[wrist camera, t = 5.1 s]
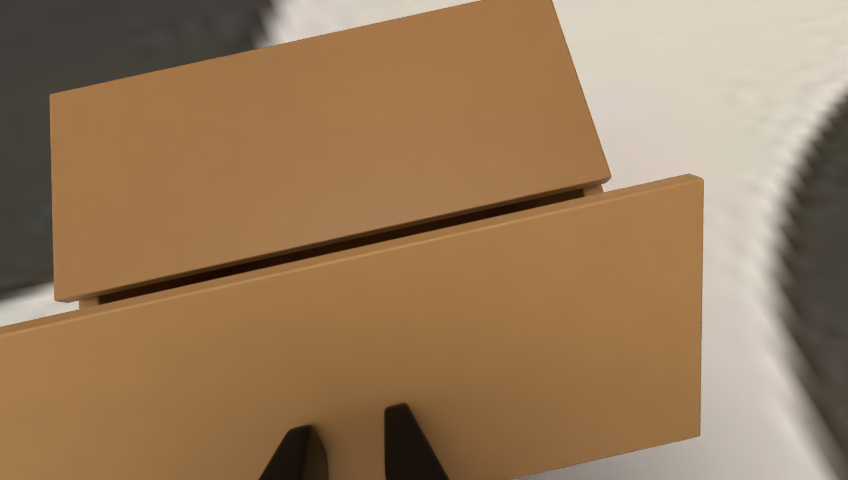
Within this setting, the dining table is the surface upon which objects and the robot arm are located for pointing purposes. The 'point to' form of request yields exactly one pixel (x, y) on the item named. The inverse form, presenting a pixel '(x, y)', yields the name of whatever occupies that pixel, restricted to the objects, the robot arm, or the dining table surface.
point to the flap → (384, 353)
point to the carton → (316, 148)
